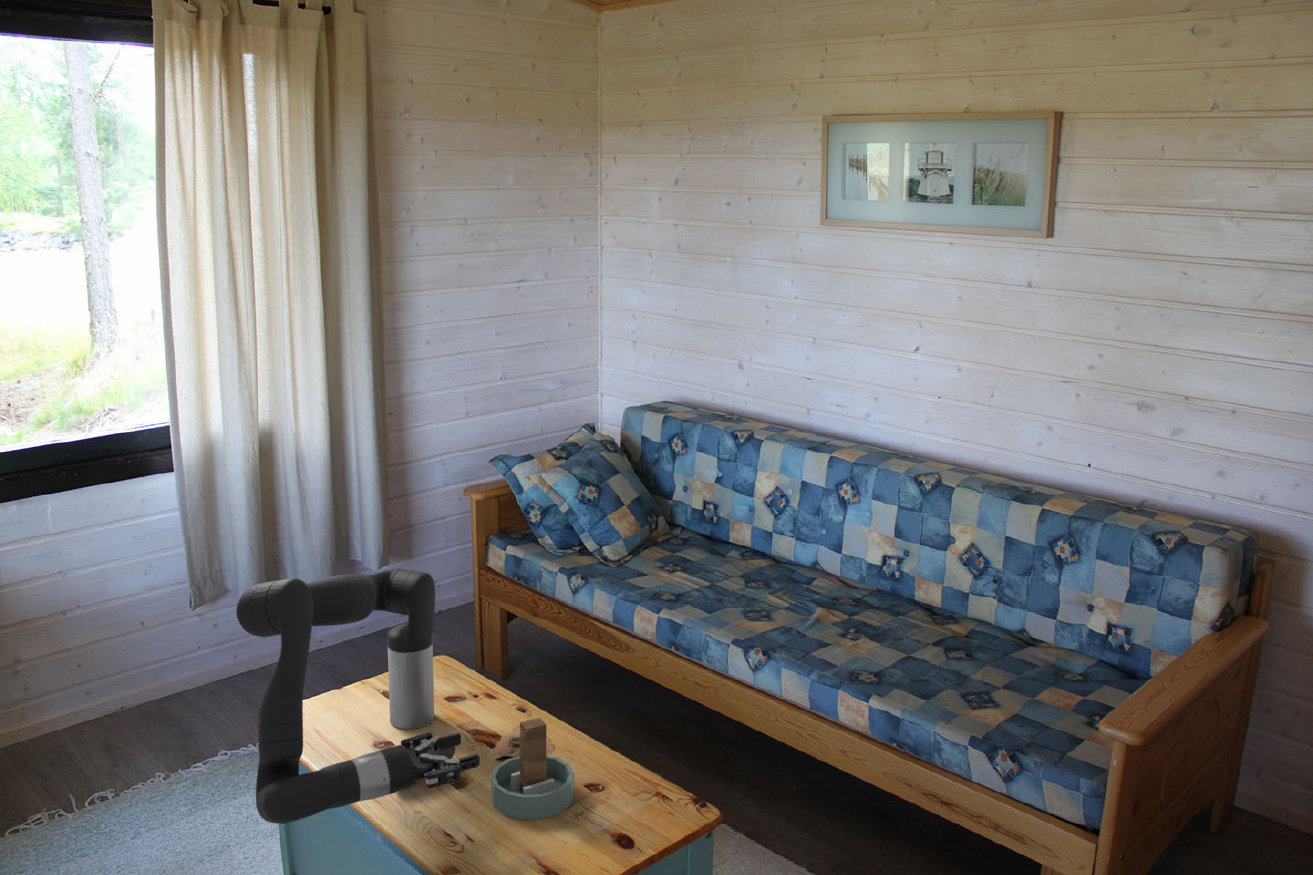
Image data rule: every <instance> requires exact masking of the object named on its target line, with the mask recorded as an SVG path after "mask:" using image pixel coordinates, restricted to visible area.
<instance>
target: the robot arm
mask: <svg viewBox="0 0 1313 875" xmlns="http://www.w3.org/2000/svg"><path fill="white" fill-rule="evenodd" d="M235 609H236V611H235V612H236V619H237V621H238V623H239V625H240V626H241V628H242V629H243V630H244V631H245V632H247V633H248V634H249V635H251V636H254V637H259V638H269V637H270V638H271V637H275V636H280V652H279V657H278V661H277V665H276V667H275V669H274V673H273V675H272V677H271V680H270V681H269V684H268V686H267V687H266V690H265V692H264V694H263V697H262V700H261V702H260V705H259V710H258V720H257V722H258V723H257V733H258V734H257V735H258V736H257V738H258V739H257V741H258V746H257V749H258V765H257V766H258V767H257V774H256V775H257V776H256V785H255V786H256V787H255V805H256V810H257V812H258V814H259V817H260V818H261V819H263V820H264V821H265V822H268V823H270V824H280V825H282V824H283V825H284V824H290V823H293V822H294V823H295V822H297V821H299V820H304V819H306V818H309V817H312V816H314V815H317V814H319V813H321V812H325V811H327V810H332V809H336V808H341V807H345V806H348V805H351V804H355V803H358V802H364V801H369V800H375V799H379V798H382V797H386V796H389V795H392V794H395V793H396V794H397V793H398V792H403V791H405V790H406V791H407V790H409V789H411V788H412V787H413V785H414V783H415V782H416V781H418V780H425V788H426V789H434V788H437V787H441V786H445V785H449V784H453V783H457V782H460V781H461V773H462V772H465V771H469V770H472V769H476V768H478V767H480V766H481V760H480V755H479V754H478V753H474V754H470V755H467V756H462V757H460V758H457V759H455V758H452V759H448V758H447V757H446V756H439V755H438V754H436V753H437V752H438V751H439V750H440V748H441V750H444V749H447V748H451V747H455V748H456V747H459V746H461V744H462V735H461V734H460V733H459V732H454V733H451V734H447V735H443V736H439V735H433V733H432V732H431V731H428V732H425V733H422V734H419V735H415V736H411V737H408V738H405V739H402V740H401V741H400V744H398V745H395V746H391V747H388V748H384V749H380V750H376V751H372V752H369V753H365V754H361V755H359V756H356V757H355V758H352V759H347V760H345V761H341V762H336V763H333V764H330V765H327V766H324V767H323V768H320V769H318V770H314V771H311V772H310V771H309V772H305V773H301V774H300V759H301V757H302V755H303V750H304V714H303V713H304V712H303V710H304V708H303V707H304V706H303V704H304V691H305V690H304V689H305V681H306V680H305V679H306V673H307V667H308V666H307V665H308V660H309V653H310V644H311V638H312V637H311V635H312V629H313V627H328V626H342V625H348V624H354V623H358V622H361V621H363V620H365V619H367V618H368V617H369V616H371V614H372V613H373V612H375V611H379V612H386V613H392V614H398V615H401V616H402V615H403V616H408V619H407V620H408V621H407V622H406V623H404V624H399V625H397V626H395V627H393V628H392V629H390V630H389V631H388V633H387V640H386V641H387V642H386V643H387V660H388V662H387V664H388V696H389V697H388V698H389V699H388V700H389V721H390V724H391V725H392V726H393V727H395V728H399V729H400V730H401V729H403V730H413V729H419V728H420V729H421V728H424V727H425V726H428V725H430V724H431V723H432V722H433V721H434V719H435V692H434V691H435V690H434V687H435V686H434V655H433V652H434V651H433V650H434V648H433V635H434V631H435V630H434V629H435V622H436V621H435V620H436V616H435V614H436V613H435V612H436V585H435V580H434V578H433V576H432V575H431V574H430V573H427V572H423V571H420V570H419V571H417V570H412V569H404V568H391V569H386V570H383V571H380V572H376V573H372V574H361V573H360V574H358V573H357V574H354V573H352V574H338V575H333V576H328V577H322V578H319V579H315V580H311V581H307V582H304V581H303V580H302V579H299V578H296V577H295V578H294V577H293V578H283V579H278V580H272V581H267V582H261V583H257V584H255V585H252V586H251V587H249V588H248V589H246V590H245V591H244V592H243V593H242V595H241V596H240V598H239V600H238V602H237V604H236V608H235ZM423 740H426V741H425V742H423V743H422V744H421V741H423ZM440 763H441V768H440ZM439 768H440V769H439ZM448 776H449V777H448Z"/></svg>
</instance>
